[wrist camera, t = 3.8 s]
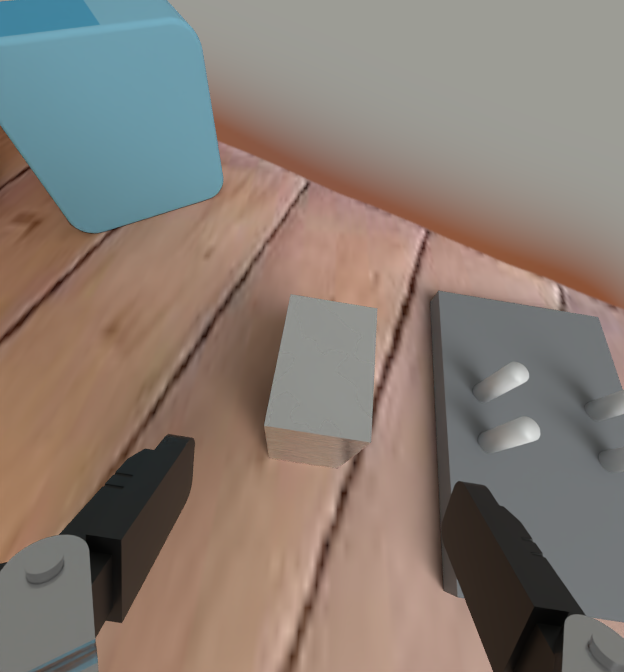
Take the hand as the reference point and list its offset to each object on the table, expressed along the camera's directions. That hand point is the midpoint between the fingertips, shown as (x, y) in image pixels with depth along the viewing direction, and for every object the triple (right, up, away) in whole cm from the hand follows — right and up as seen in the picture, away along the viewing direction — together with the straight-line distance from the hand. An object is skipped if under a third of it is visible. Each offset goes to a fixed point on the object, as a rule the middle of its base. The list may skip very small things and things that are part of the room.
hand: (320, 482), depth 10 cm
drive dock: (+14, -2, +11) cm, 18 cm away
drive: (0, 0, +11) cm, 11 cm away
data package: (-14, +16, +18) cm, 28 cm away
